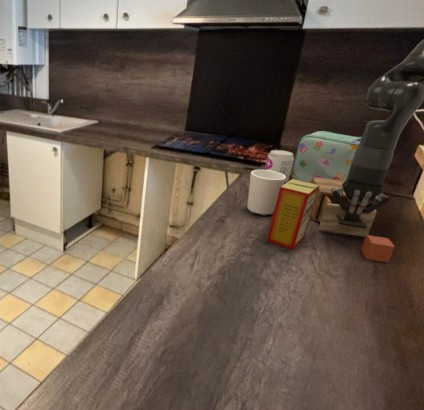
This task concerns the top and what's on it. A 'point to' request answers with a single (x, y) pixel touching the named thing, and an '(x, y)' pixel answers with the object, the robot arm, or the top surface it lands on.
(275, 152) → the supplement can
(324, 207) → the drawer
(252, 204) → the cup
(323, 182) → the cabinet
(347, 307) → the top surface
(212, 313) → the top surface
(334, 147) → the lunch box
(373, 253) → the block
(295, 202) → the baking soda box
